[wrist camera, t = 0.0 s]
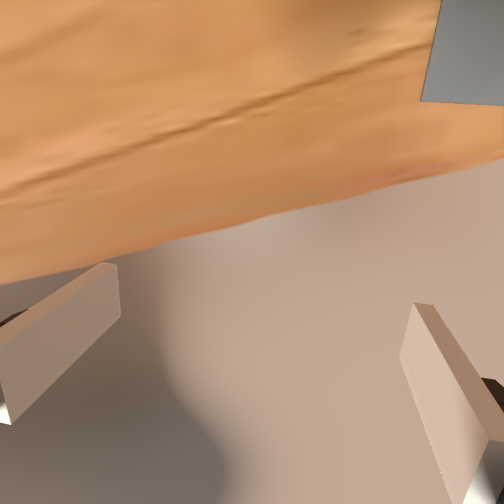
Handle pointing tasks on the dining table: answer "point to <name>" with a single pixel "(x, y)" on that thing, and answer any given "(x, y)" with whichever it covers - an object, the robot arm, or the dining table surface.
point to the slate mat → (467, 54)
